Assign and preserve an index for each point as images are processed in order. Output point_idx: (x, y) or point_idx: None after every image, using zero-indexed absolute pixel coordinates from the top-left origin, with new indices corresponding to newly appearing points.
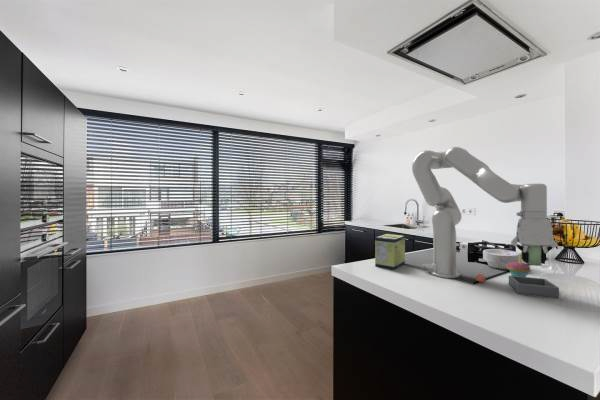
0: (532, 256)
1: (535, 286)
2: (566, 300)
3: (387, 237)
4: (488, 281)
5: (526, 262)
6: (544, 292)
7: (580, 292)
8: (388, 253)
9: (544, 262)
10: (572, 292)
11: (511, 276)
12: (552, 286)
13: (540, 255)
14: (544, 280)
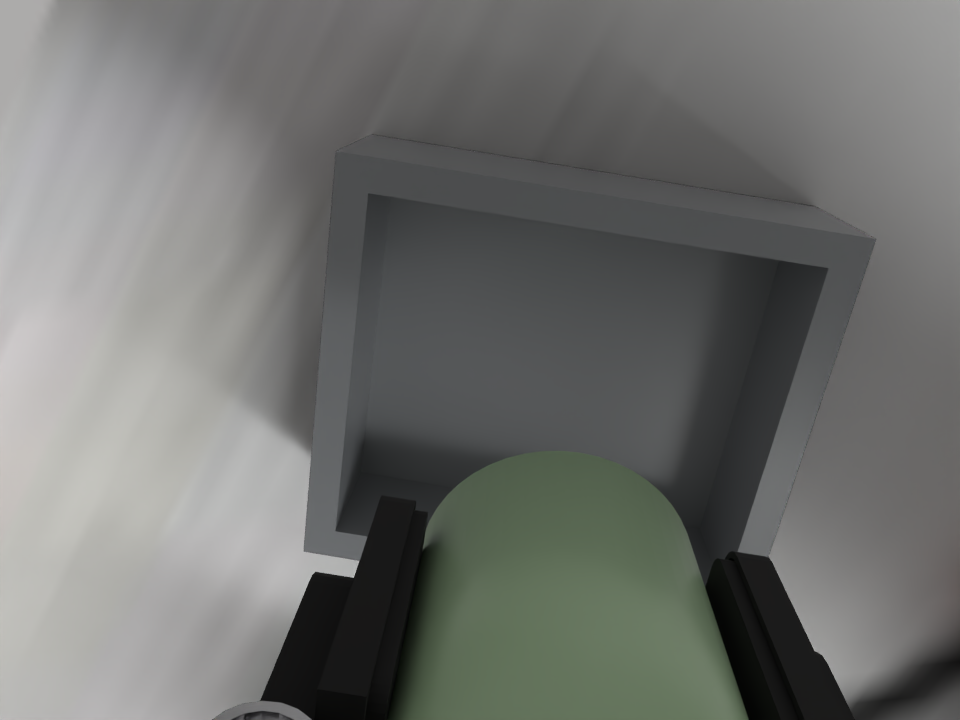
0: (685, 630)
1: (638, 200)
2: (309, 91)
3: None
4: (895, 630)
5: (756, 556)
6: (523, 167)
7: (12, 417)
8: None
9: (385, 508)
10: (97, 402)
11: None
12: (365, 270)
13: (458, 646)
14: (339, 507)
